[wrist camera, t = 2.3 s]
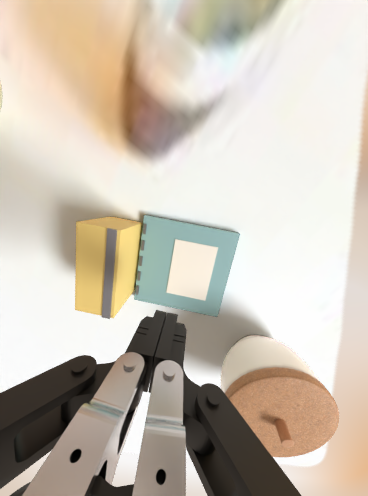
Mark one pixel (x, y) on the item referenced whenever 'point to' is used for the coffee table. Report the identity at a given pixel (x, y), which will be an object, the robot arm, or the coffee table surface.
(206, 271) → the spiral notebook
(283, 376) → the lidded jar
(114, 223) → the yellow box with stripe
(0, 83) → the reusable coffee cup
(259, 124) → the coffee table surface
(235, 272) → the coffee table surface
